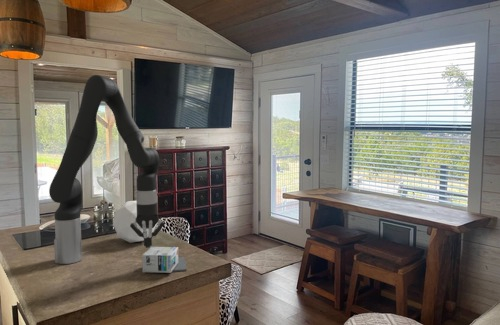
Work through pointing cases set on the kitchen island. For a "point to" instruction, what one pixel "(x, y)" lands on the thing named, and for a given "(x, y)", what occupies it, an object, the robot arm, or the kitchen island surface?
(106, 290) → the kitchen island surface
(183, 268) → the mat
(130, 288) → the kitchen island surface
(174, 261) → the light bulb box
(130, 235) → the ball
